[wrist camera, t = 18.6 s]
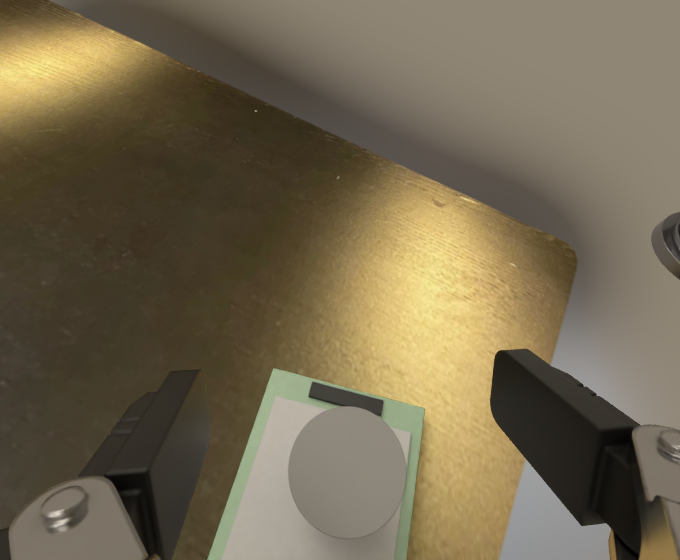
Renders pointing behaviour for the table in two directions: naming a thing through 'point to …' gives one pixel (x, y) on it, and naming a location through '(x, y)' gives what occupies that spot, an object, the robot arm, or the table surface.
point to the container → (347, 472)
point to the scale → (273, 483)
